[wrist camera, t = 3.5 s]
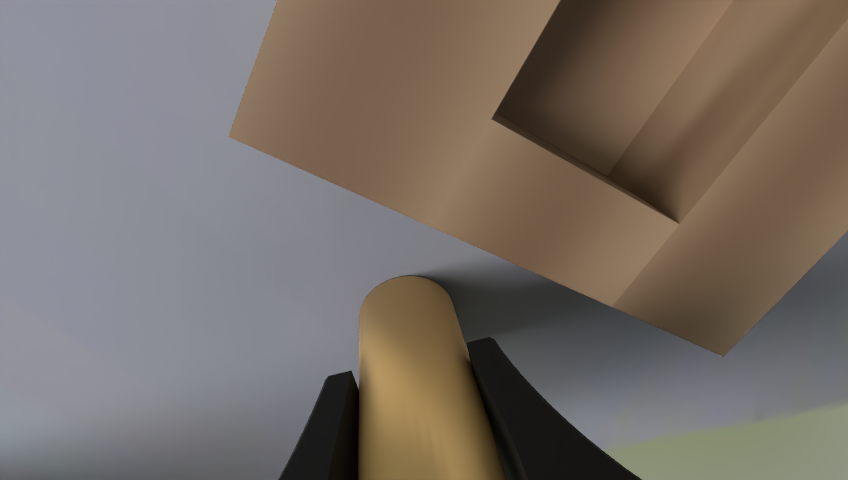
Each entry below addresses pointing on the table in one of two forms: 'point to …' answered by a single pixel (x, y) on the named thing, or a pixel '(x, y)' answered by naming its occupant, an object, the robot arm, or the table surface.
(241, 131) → the walnut socket block
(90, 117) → the table surface
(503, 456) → the robot arm
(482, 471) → the ochre peg
